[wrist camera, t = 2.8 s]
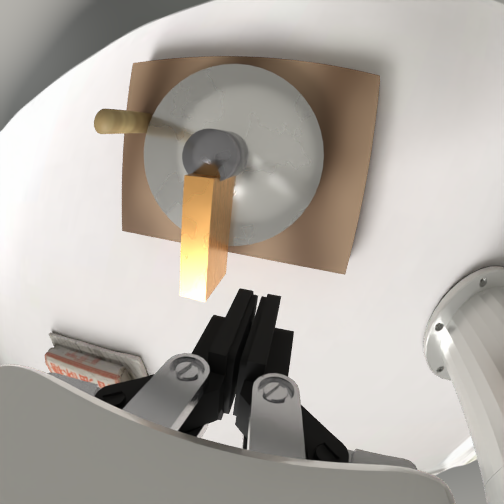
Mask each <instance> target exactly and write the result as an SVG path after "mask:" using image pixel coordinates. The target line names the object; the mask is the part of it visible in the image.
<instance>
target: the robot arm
mask: <svg viewBox="0 0 504 504" xmlns="http://www.w3.org/2000/svg"><path fill="white" fill-rule="evenodd" d="M257 299H258V296H257V295H253V291H251V290H246V289H241V288H240V289H239V291H238V293H237V295H236V297H235V299H234V301H233V303H232V305H231V307H230V309H229V311H228V313H227V315H226V317H221V316H217V315H213V317H212V318H211V320H210V322H209V323H208V325H207V327H206V329H205V330H204V332H203V334H202V336H201V338H200V339H199V341H198V343H197V345H196V347H195V348H194V350H193V352H192V354H188V353H183V354H178V355H175V356H173V357H171V358H170V359H169V360H167V362H166V363H165V364H164V365H163V366H162V367H161V368H160V369H159V370H158V371H157V372H156V373H155V374H154V375H150V376H146V377H142V378H137V379H133V380H129V381H125V382H120V383H116V384H111V385H108V386H105V387H103V388H100V387H99V385H98V384H95V383H91V382H87V381H83V380H79V379H76V378H72V377H68V376H65V375H62V374H58V373H52V372H51V373H45V372H43V371H40V370H37V369H34V368H31V367H27V366H21V365H16V364H6V365H1V366H0V504H456V503H455V500H454V497H453V494H452V492H451V490H450V488H449V487H448V485H447V484H446V483H445V482H444V481H443V480H441V479H440V478H438V477H436V476H434V475H432V474H430V473H426V472H423V471H420V470H417V468H416V466H415V465H414V464H413V463H412V462H411V461H409V460H406V459H403V458H397V457H391V456H386V455H381V454H377V453H372V452H368V451H363V450H359V449H355V451H351V450H347V448H346V447H345V446H344V444H343V443H342V442H341V441H339V440H338V439H337V438H336V437H335V436H334V435H333V434H332V433H331V432H329V431H328V430H327V429H326V428H325V427H324V426H323V425H322V424H321V423H320V422H319V421H318V420H317V419H316V418H314V417H313V416H312V415H311V414H310V413H309V412H308V411H307V410H306V409H305V408H304V407H303V406H302V405H301V401H300V392H299V388H298V385H297V384H296V383H295V381H293V380H292V379H291V378H289V377H288V372H289V365H290V358H291V350H292V342H293V334H294V331H289V330H284V329H278V328H275V325H276V320H277V315H278V310H279V305H280V299H281V296H276V295H271V294H268V295H267V297H263V296H262V297H261V300H260V303H259V306H258V309H257V312H256V305H257ZM255 312H256V315H255ZM423 350H424V356H425V359H426V362H427V364H428V366H429V368H430V370H431V371H432V372H433V373H434V374H435V375H436V376H438V377H440V378H442V379H446V380H451V381H452V383H453V386H454V388H455V391H456V394H457V396H458V399H459V402H460V404H461V407H462V410H463V413H464V416H465V419H466V422H467V425H468V428H469V431H470V434H471V438H472V441H473V445H474V448H475V452H476V455H477V459H478V463H479V467H480V471H481V476H482V480H483V485H484V489H485V495H486V500H487V504H504V267H501V266H491V267H487V268H483V269H480V270H478V271H476V272H474V273H471V274H470V275H468V276H467V277H465V278H464V279H462V280H461V281H460V282H458V283H457V284H456V285H455V286H454V287H453V288H452V289H451V290H450V291H449V292H448V293H447V294H446V295H445V297H444V298H443V299H442V300H441V301H440V303H439V304H438V306H437V307H436V309H435V310H434V312H433V314H432V316H431V318H430V320H429V322H428V325H427V328H426V331H425V334H424V341H423ZM235 394H236V397H235ZM234 397H235V404H234V412H233V415H235V416H237V417H236V423H235V425H236V426H237V427H238V428H239V430H240V431H241V432H242V434H243V438H242V449H241V448H237V447H232V446H228V445H224V444H220V443H216V442H213V441H209V440H205V439H202V438H201V437H202V436H203V434H204V433H205V431H206V429H207V427H208V423H211V422H214V421H216V420H221V419H222V416H223V413H227V414H229V412H230V409H231V406H232V403H233V400H234Z"/></svg>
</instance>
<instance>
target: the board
mask: <svg viewBox="0 0 504 504" xmlns="http://www.w3.org/2000/svg"><path fill="white" fill-rule="evenodd" d="M224 64H244V65H251V66H255V67H259V68H262V69H265V70H268V71H270V72H273V73H274V74H276V75H278V76H280V77H281V78H283V79H285V80H286V81H287V82H289V83H290V84H291V85H292V86H294V87H295V88H296V89H297V90H298V91H299V93H300V94H301V95H302V96H303V97H304V98H305V100H306V101H307V102H308V104H309V105H310V107H311V109H312V111H313V112H314V114H315V116H316V119H317V121H318V124H319V127H320V130H321V135H322V140H323V150H324V160H323V170H322V174H321V178H320V182H319V185H318V187H317V190H316V193H315V195H314V197H313V198H312V200H311V202H310V204H309V205H308V207H307V208H306V209H305V211H304V212H303V213H302V215H301V216H300V217H299V218H298V219H297V220H296V221H295V222H294V223H293V224H292V225H290V226H289V227H288V228H286V229H285V230H284V231H282V232H281V233H279V234H277V235H275V236H274V237H272V238H269V239H267V240H264V241H262V242H258V243H254V244H250V245H243V246H228V252H232V253H237V254H242V255H247V256H252V257H257V258H262V259H267V260H272V261H278V262H283V263H288V264H293V265H298V266H303V267H309V268H314V269H319V270H324V271H329V272H334V273H340V274H345V273H346V269H347V265H348V261H349V257H350V253H351V249H352V245H353V241H354V237H355V232H356V228H357V224H358V219H359V214H360V210H361V205H362V200H363V195H364V190H365V185H366V179H367V174H368V168H369V162H370V156H371V150H372V143H373V136H374V129H375V121H376V113H377V104H378V94H379V84H380V76H379V75H375V74H371V73H366V72H362V71H358V70H353V69H348V68H343V67H338V66H332V65H326V64H320V63H313V62H305V61H297V60H288V59H277V58H263V57H239V56H211V57H187V58H173V59H163V60H154V61H146V62H138V63H133V67H132V73H131V79H130V86H129V94H128V102H127V111H126V110H115V109H102V110H100V111H99V112H98V113H97V115H96V117H95V120H94V127H95V130H96V131H97V132H98V133H99V134H119V133H124V147H123V167H122V231H126V232H131V233H136V234H141V235H146V236H151V237H156V238H161V239H166V240H171V241H176V242H181V228H179V227H178V226H177V225H176V224H174V223H173V222H172V221H171V220H170V219H169V218H168V217H167V215H166V214H165V213H164V212H163V211H162V209H161V208H160V206H159V205H158V203H157V202H156V200H155V198H154V196H153V194H152V192H151V190H150V187H149V184H148V181H147V177H146V173H145V166H144V144H145V137H146V133H147V129H148V126H149V123H150V121H151V118H152V116H153V114H154V112H155V110H156V108H157V107H158V105H159V104H160V102H161V101H162V100H163V98H164V97H165V96H166V95H167V94H168V93H169V91H170V90H171V89H172V88H174V87H175V86H176V85H177V84H178V83H179V82H181V81H182V80H184V79H185V78H187V77H188V76H190V75H192V74H194V73H196V72H198V71H200V70H203V69H206V68H209V67H212V66H218V65H224Z"/></svg>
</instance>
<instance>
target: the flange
mask: <svg viewBox="0 0 504 504" xmlns="http://www.w3.org/2000/svg"><path fill="white" fill-rule="evenodd" d="M323 160H324V150H323V140H322V135H321V130H320V127H319V124H318V121H317V119H316V116H315V114H314V112H313V111H312V109H311V107H310V105H309V104H308V102H307V101H306V100H305V98H304V97H303V96H302V95H301V94H300V93H299V91H298V90H297V89H296V88H295V87H294V86H292V85H291V84H290V83H289V82H287V81H286V80H285V79H283V78H281V77H280V76H278V75H276V74H274V73H273V72H270V71H268V70H265V69H262V68H259V67H255V66H251V65H244V64H224V65H218V66H212V67H209V68H206V69H203V70H200V71H198V72H196V73H194V74H192V75H190V76H188V77H187V78H185V79H184V80H182V81H181V82H179V83H178V84H177V85H176V86H175V87H174V88H172V89H171V90H170V91H169V93H168V94H167V95H166V96H165V97H164V98H163V100H162V101H161V102H160V104H159V105H158V107H157V108H156V110H155V112H154V114H153V116H152V118H151V121H150V123H149V126H148V129H147V133H146V137H145V144H144V166H145V173H146V177H147V181H148V184H149V187H150V190H151V192H152V194H153V196H154V198H155V200H156V202H157V203H158V205H159V206H160V208H161V209H162V211H163V212H164V213H165V214H166V215H167V217H168V218H169V219H170V220H171V221H172V222H173V223H174V224H176V225H177V226H178V227H179V228H181V263H180V296H184V297H188V298H192V299H196V300H200V301H204V302H206V300H207V299H208V298H209V296H210V295H211V293H212V292H213V291H214V289H215V288H216V286H217V285H218V284H219V282H220V281H221V279H222V278H223V277H224V275H225V274H226V264H227V253H228V246H243V245H250V244H254V243H258V242H262V241H264V240H267V239H269V238H272V237H274V236H275V235H277V234H279V233H281V232H282V231H284V230H285V229H286V228H288V227H289V226H290V225H292V224H293V223H294V222H295V221H296V220H297V219H298V218H299V217H300V216H301V215H302V213H303V212H304V211H305V209H306V208H307V207H308V205H309V204H310V202H311V200H312V198H313V197H314V195H315V193H316V190H317V187H318V185H319V182H320V178H321V174H322V170H323Z"/></svg>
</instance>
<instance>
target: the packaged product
mask: <svg viewBox="0 0 504 504" xmlns="http://www.w3.org/2000/svg"><path fill="white" fill-rule="evenodd" d="M49 336H50V338H51V340H52V343H53V345H54V346H55V347H54V348H51V349H49V351H48V352H47V353H46V354H45V363H46V365H47V366H48V369H49V370H50V372H52V373H58V374H62V375H65V376H68V377H72V378H76V379H79V380H83V381H87V382H91V383H95V384H98V385H99V387H100V388H103V387H105V386H108V385H111V384H116V383H120V382H125V381H129V380H133V379H137V378H142V377H146V376H148V375H147V372H146V369H145V366H144V364H143V362H142V360H141V357H138V356H134V355H131V354H126V353H120V352H114V351H112V350H109V349H105V348H102V347H98V346H95V345H92V344H88V343H86V342H83V341H79V340H74V339H71V338H68V337H64V336H61V335H58V334H55V333H49Z"/></svg>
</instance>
